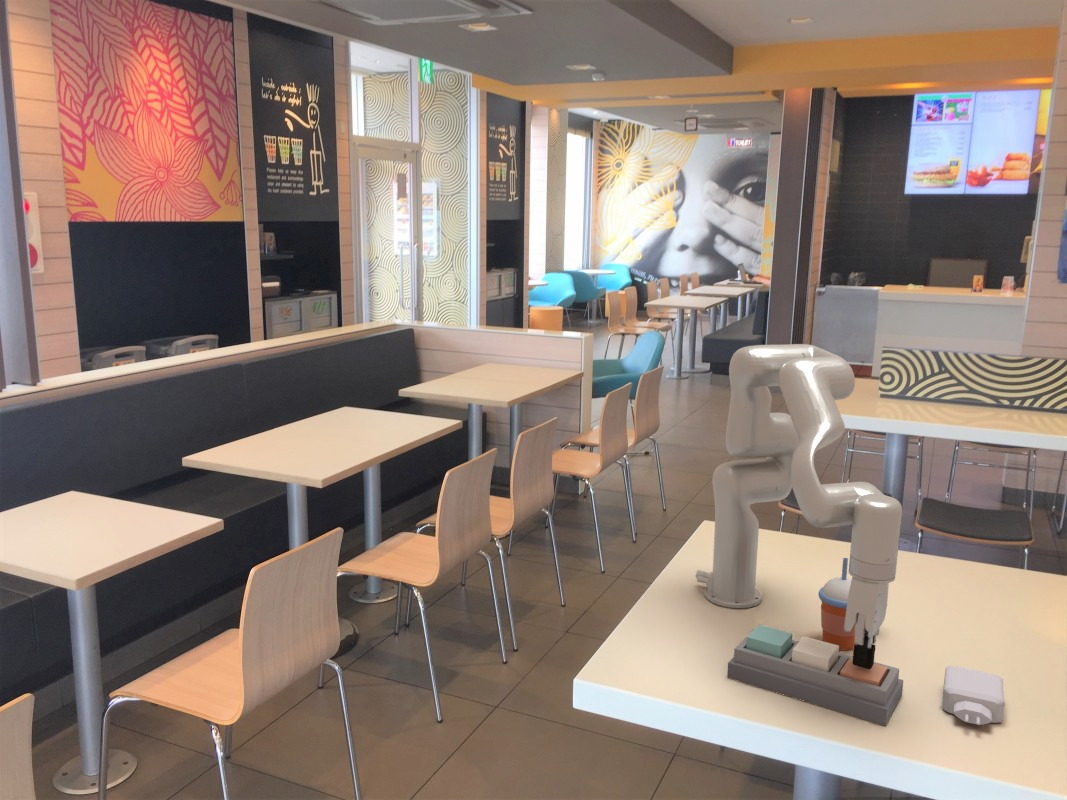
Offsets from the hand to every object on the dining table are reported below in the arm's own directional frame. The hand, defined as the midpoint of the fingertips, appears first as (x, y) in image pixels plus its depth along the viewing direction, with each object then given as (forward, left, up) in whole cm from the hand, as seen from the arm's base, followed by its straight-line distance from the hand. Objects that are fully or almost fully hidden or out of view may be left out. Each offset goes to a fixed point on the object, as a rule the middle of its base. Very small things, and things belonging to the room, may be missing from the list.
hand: (862, 665), depth 154 cm
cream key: (-8, 0, -2) cm, 8 cm away
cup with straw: (-9, +20, -7) cm, 23 cm away
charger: (+17, +7, -7) cm, 19 cm away
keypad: (-8, 0, -7) cm, 11 cm away
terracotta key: (0, 0, -4) cm, 4 cm away
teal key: (-17, 0, -2) cm, 17 cm away
